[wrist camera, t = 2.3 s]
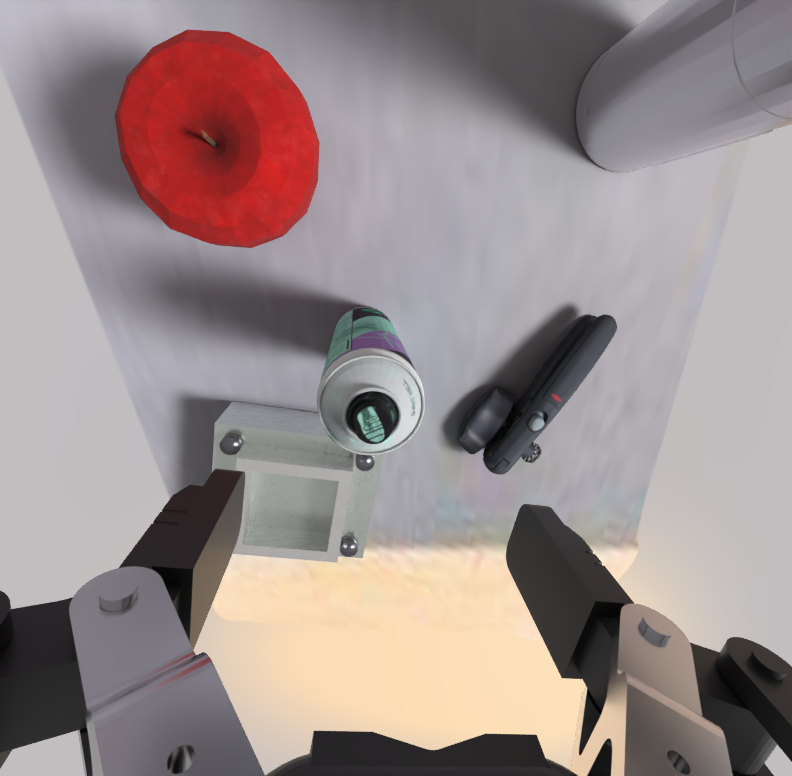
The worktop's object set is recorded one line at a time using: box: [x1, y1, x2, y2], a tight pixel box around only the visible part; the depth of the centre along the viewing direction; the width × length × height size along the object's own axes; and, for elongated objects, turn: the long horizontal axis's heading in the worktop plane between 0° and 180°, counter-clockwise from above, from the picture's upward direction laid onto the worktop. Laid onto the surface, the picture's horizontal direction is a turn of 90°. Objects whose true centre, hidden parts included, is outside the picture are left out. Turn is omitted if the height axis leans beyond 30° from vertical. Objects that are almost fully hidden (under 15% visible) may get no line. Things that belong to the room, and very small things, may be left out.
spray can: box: [317, 307, 425, 455], centre depth 27 cm, size 6×6×20 cm
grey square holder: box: [212, 401, 383, 562], centre depth 36 cm, size 14×12×8 cm
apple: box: [115, 30, 319, 248], centre depth 25 cm, size 11×10×14 cm
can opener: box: [457, 315, 617, 474], centre depth 37 cm, size 18×7×6 cm, turn 140°
